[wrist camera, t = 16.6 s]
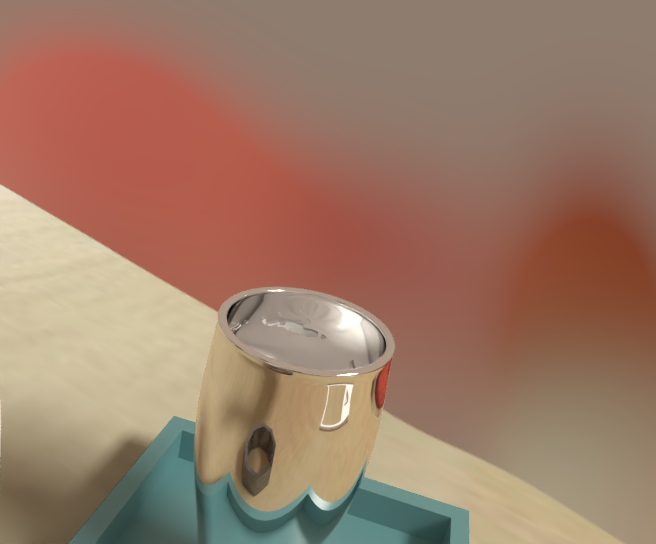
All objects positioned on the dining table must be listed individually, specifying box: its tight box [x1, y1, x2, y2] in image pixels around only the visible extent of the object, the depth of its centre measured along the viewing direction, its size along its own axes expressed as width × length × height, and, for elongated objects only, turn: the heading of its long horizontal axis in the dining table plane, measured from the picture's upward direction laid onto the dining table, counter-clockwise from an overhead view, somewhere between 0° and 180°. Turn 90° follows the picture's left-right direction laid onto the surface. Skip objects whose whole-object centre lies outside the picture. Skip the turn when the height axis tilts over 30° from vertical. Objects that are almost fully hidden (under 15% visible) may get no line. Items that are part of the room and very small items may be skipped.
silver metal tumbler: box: [194, 287, 395, 544], centre depth 24 cm, size 7×7×15 cm
